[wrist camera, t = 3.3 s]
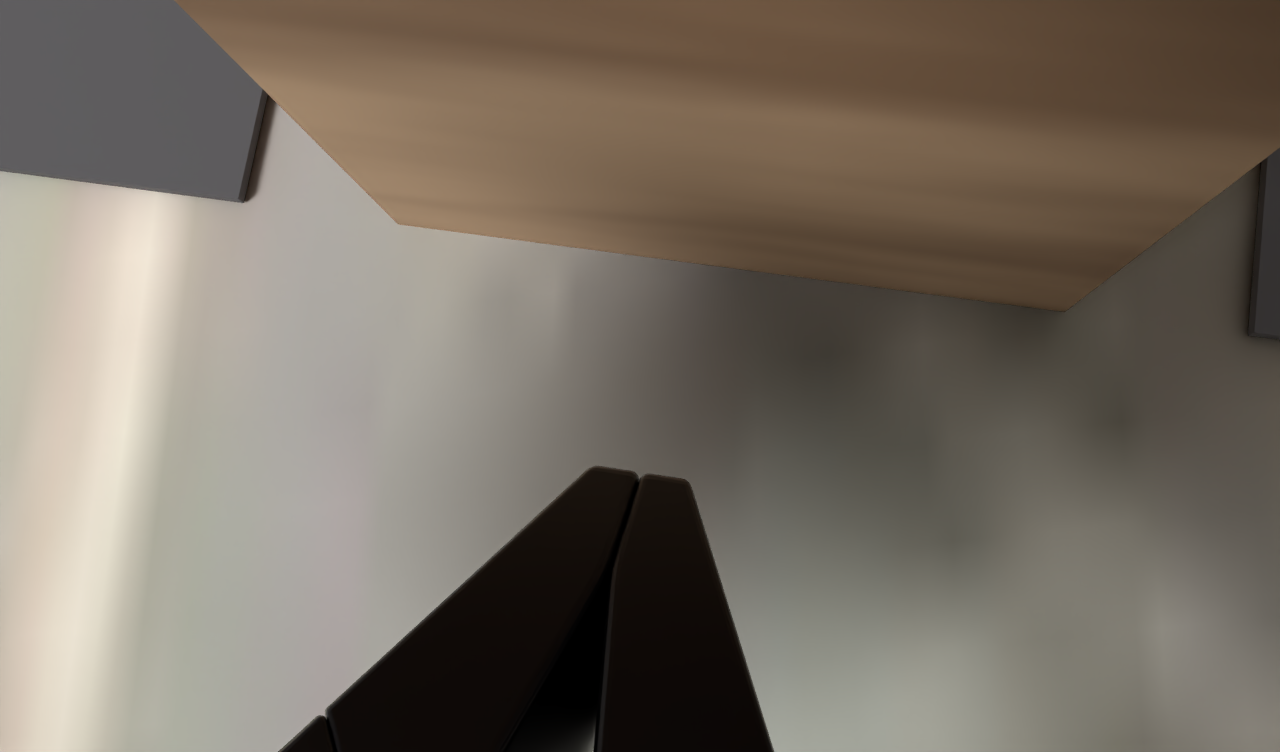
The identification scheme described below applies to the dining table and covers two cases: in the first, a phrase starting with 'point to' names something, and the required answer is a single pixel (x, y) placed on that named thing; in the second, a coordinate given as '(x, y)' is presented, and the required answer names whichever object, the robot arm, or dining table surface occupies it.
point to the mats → (231, 113)
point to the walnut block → (787, 126)
